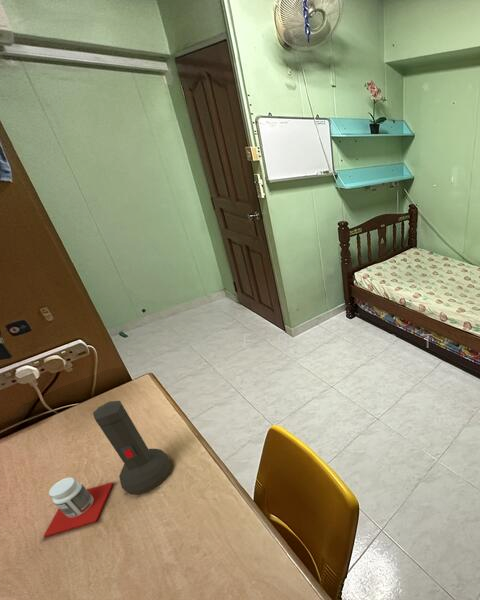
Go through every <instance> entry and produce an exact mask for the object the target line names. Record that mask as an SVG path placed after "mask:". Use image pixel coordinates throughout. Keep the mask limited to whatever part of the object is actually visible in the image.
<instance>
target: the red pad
mask: <svg viewBox="0 0 480 600" xmlns="http://www.w3.org/2000/svg"><path fill="white" fill-rule="evenodd" d="M113 486H114V482H109V483H105V484H102V485H98V486H94V487H91V488H86V490H87V491H88V492H89V493H90V494H91V495H92V497H93V499H94V501H93V504H92V505H91V507H90V508H89V509H88V510H87V511H86V512H84V513H83V514H81V515H79V516H77V517H74V518H69V517H67V516H66V515H65V514H64V513H63V512H62V511H61V510H60V509H59V508H58V509H57V511H56V513H55V514H54V516H53V518H52V520H51V522H50V524H49V526H48V528H47V529H46V531H45V533H44V534H43V537H44V538H47V537H51V536H54V535H58V534H61V533H64V532H68V531H71V530H74V529H78V528H83V527H84V526H88V525H92V524H94V523H97V522H98V521H99V518H100V517H101V514H102V511H103V508H104V507H105V504H106V503H107V500H108V497H109V496H110V493H111V491H112V488H113Z"/></svg>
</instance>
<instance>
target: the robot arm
mask: <svg viewBox="0 0 480 600" xmlns="http://www.w3.org/2000/svg"><path fill="white" fill-rule="evenodd" d="M4 341H5V340H4V339H3V337H2V331H1V330H0V361H2V360H10V359H11V358H12V357H13V354H12V353H11V352H10V351H9V350H8V347H6V346H5V344H4Z"/></svg>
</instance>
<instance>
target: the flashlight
mask: <svg viewBox="0 0 480 600" xmlns="http://www.w3.org/2000/svg"><path fill="white" fill-rule="evenodd" d="M92 415H93V418H94V420H95V422H96V424H97V425H98V427H100V429H101V431H102V433H103V434H104V435H105V437H106V439H107V441H109V443H110V445H111V446H112V447H113V449H114V450H115V452H116V453H117V455H118V457H119V458H120V459H121V461H122V462H123V466H122V468H121V470H120V473H119V475H118V476H119V482H120V486H121V489H123V490H124V491H125V492H127V493H128V494H129V495H142V494H145V493H148V492H150V491H152V490H154V489H156V488H157V487H159V486H160V485H161V484H162V483H163V482H164V481H165V480H166V479H167V477H168V476H169V475H170V472H171V468H172V465H171V459H170V456H169V455H168V454H167V453H166V452H165V451H163V449H159V448H149V447H148V446H147V444H146V443H145V441H144V439H143V437H142V435H141V433H140V432H139V431H138V429H137V427H136V425H135V423H134V422H133V420H132V419H131V417H130V415H129V413H128V412H127V410H126V409H125V406H124V405H123V403H122V402H121V400H113V401H108V402H106V403H104V404H102V405H100V406H98V407H97V408H96V409H95V410H94V412H92Z"/></svg>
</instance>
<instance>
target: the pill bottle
mask: <svg viewBox="0 0 480 600" xmlns="http://www.w3.org/2000/svg"><path fill="white" fill-rule="evenodd" d="M48 495H49V496H50V498H52V500H51V501H52V503H53V504H54V505H55V506H56V507H57V508H58V509H60V510H61V511H62V512H63V513H64V514H65V515H66V516H67V517H69V518H74V517H77V516H79V515H81V514H83V513H84V512H86V511H87V510H88V509H89V508H90V507H91V505H92V504H93V501H94V499H93V497H92V495H91V494H90V493H89V492H88V491H87V488H86V487H85V486H84V485H83V483H81V482H80V481H77V480H76V479H75V478H74V477H65V478H63V479H61V480H58V481H57V482H56V483H54V484H53V485H52V486H51V487H50V489H49V491H48Z"/></svg>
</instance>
